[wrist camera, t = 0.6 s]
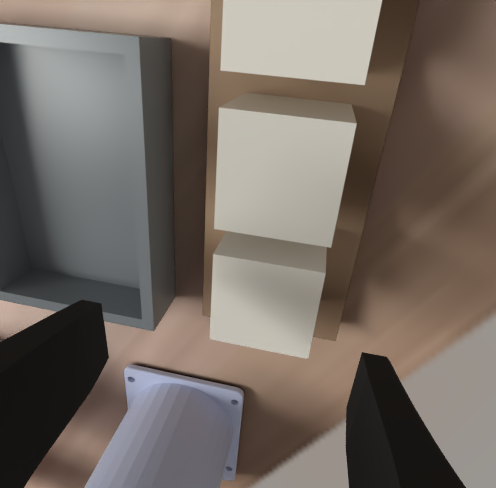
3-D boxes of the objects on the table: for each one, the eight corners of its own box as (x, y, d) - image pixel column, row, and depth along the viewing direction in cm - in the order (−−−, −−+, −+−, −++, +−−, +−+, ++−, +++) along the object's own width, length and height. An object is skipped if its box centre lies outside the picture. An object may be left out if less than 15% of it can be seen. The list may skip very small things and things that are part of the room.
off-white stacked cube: (331, 203, 16) (331, 247, 13) (239, 190, 17) (214, 228, 13) (351, 104, 14) (356, 123, 11) (245, 92, 15) (218, 107, 11)
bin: (175, 297, 22) (153, 331, 19) (31, 270, 23) (-7, 298, 21) (171, 38, 16) (138, 36, 13) (-25, 20, 17) (-90, 15, 14)
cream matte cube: (313, 299, 19) (307, 358, 15) (232, 285, 19) (209, 338, 16) (327, 225, 17) (325, 273, 13) (237, 211, 17) (212, 253, 14)
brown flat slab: (335, 322, 21) (335, 340, 19) (210, 298, 22) (202, 315, 20) (427, -62, 13) (437, -74, 12) (224, -72, 14) (213, -84, 12)
